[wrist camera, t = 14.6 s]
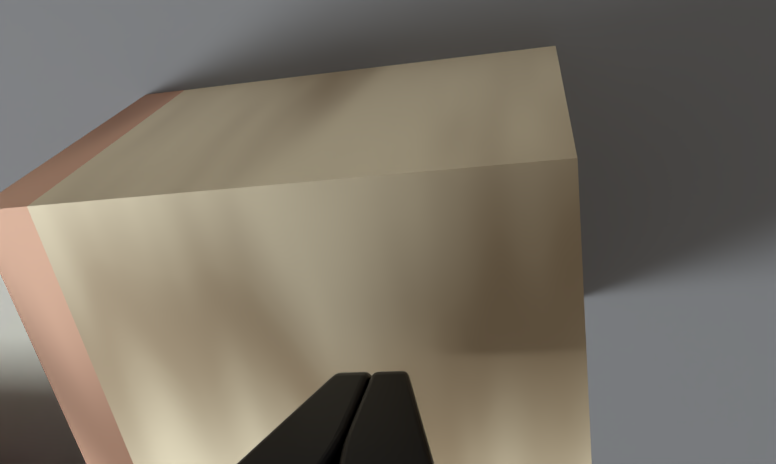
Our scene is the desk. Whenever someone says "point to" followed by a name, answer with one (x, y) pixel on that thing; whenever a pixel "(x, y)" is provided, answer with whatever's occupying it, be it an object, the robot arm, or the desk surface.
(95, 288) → the tall block
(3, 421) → the desk surface
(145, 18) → the rubber mat
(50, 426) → the desk surface
